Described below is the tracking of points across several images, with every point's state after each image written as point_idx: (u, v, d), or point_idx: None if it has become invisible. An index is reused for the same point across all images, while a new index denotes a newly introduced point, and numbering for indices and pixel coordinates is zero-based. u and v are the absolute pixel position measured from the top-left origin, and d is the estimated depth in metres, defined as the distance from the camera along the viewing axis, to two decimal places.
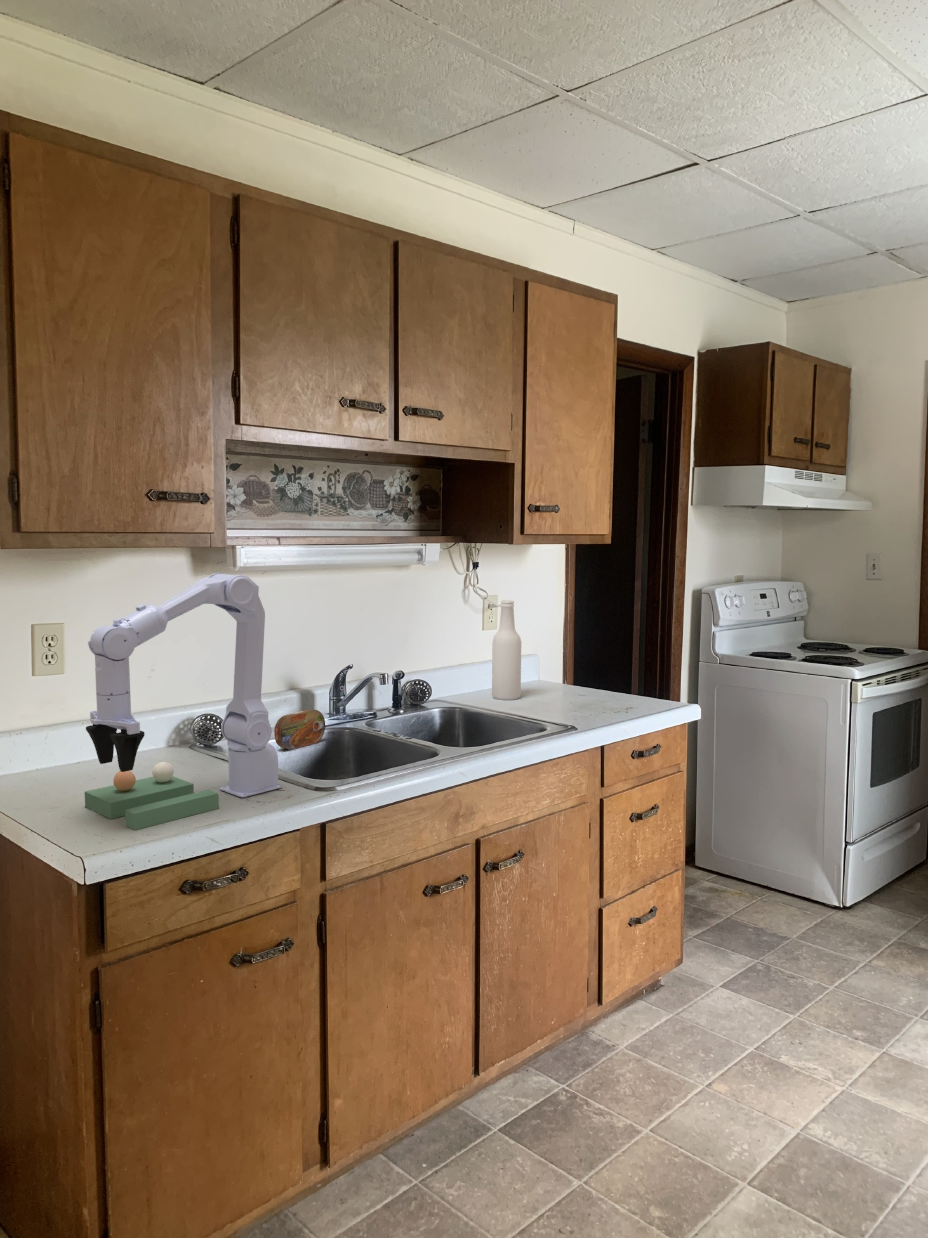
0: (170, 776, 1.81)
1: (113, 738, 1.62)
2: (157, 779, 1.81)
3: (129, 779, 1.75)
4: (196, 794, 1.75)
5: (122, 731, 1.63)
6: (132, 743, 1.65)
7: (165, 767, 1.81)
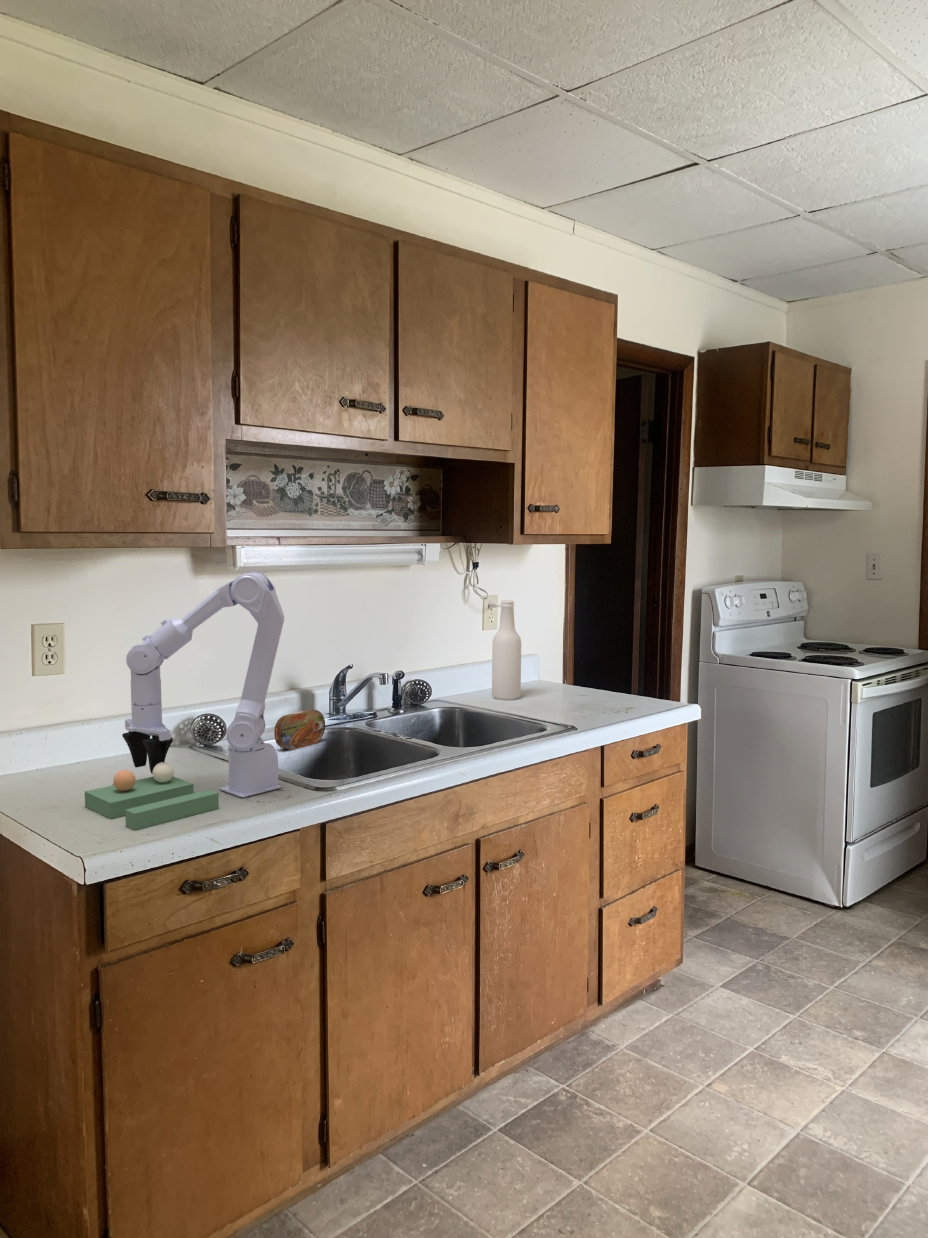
0: (170, 777, 1.81)
1: (145, 743, 1.81)
2: (157, 779, 1.81)
3: (129, 779, 1.75)
4: (196, 794, 1.75)
5: (153, 737, 1.82)
6: (162, 748, 1.84)
7: (165, 768, 1.81)
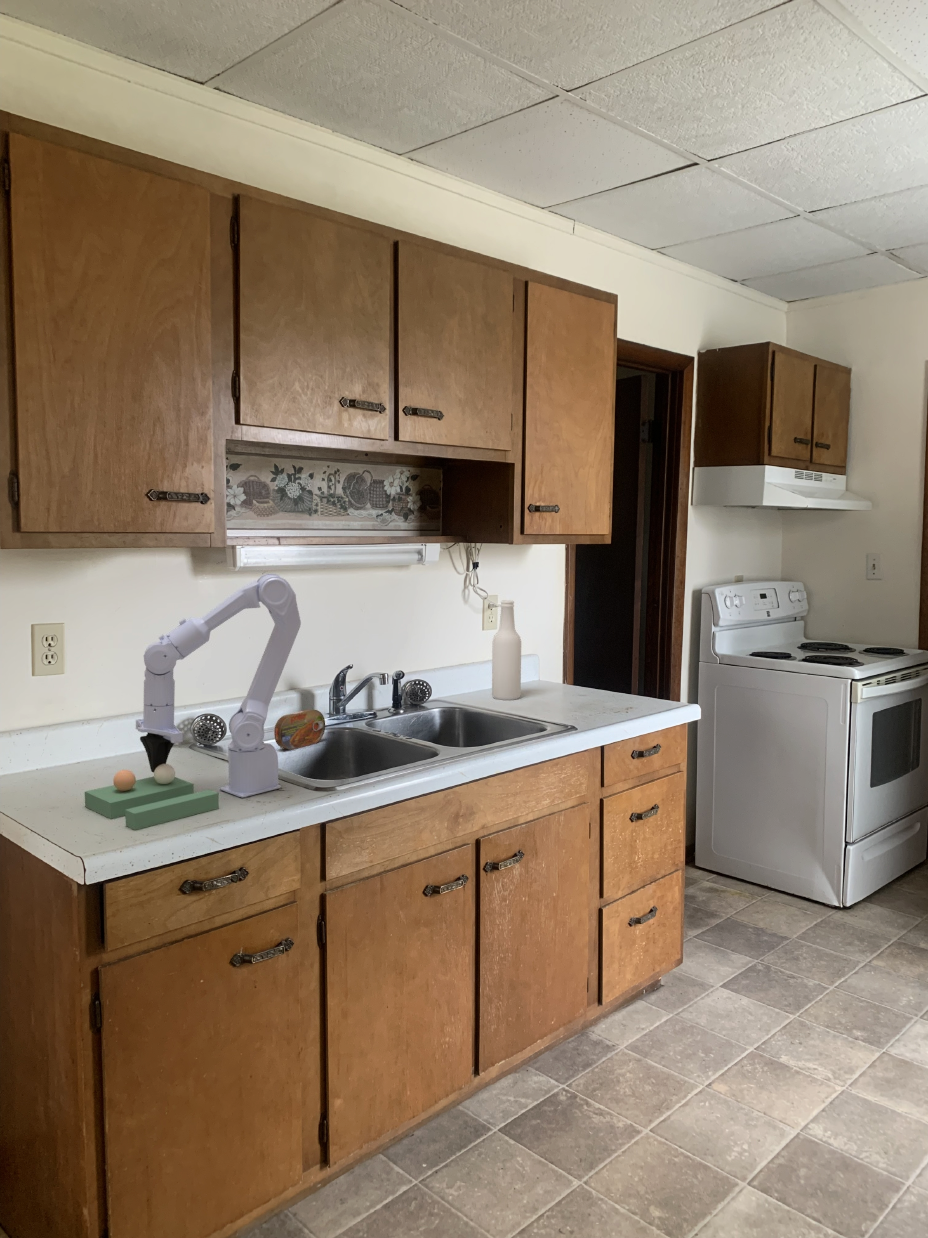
0: (171, 781, 1.81)
1: (148, 742, 1.79)
2: (158, 782, 1.80)
3: (129, 779, 1.75)
4: (196, 794, 1.75)
5: (156, 736, 1.80)
6: (165, 747, 1.82)
7: (168, 776, 1.80)
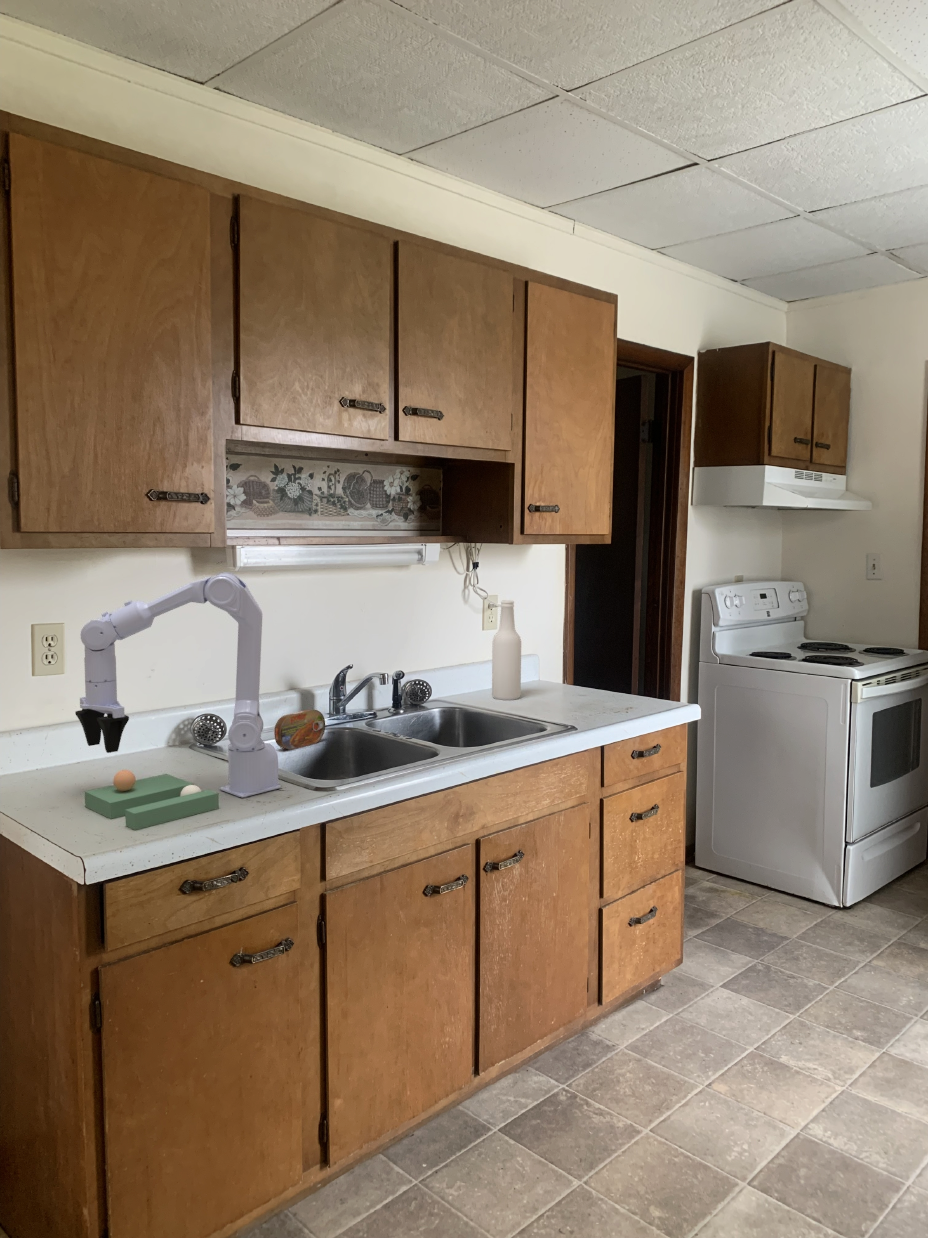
0: (196, 789, 1.76)
1: (100, 721, 1.76)
2: None
3: (129, 779, 1.75)
4: (196, 794, 1.75)
5: (108, 715, 1.78)
6: (118, 727, 1.80)
7: (185, 787, 1.77)
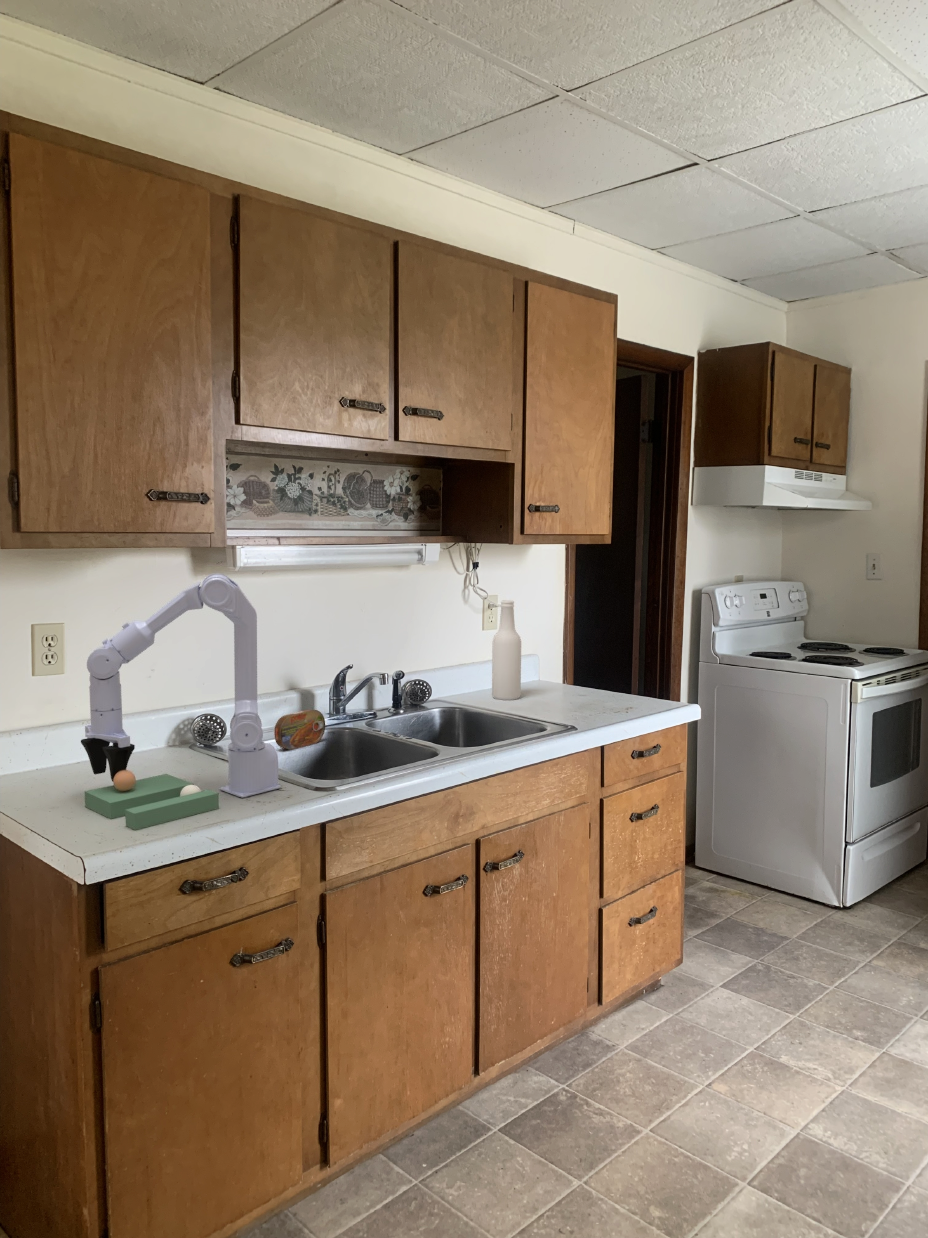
0: (195, 788, 1.77)
1: (105, 751, 1.75)
2: None
3: (129, 779, 1.75)
4: (196, 794, 1.75)
5: (114, 744, 1.76)
6: (123, 756, 1.78)
7: (185, 787, 1.77)
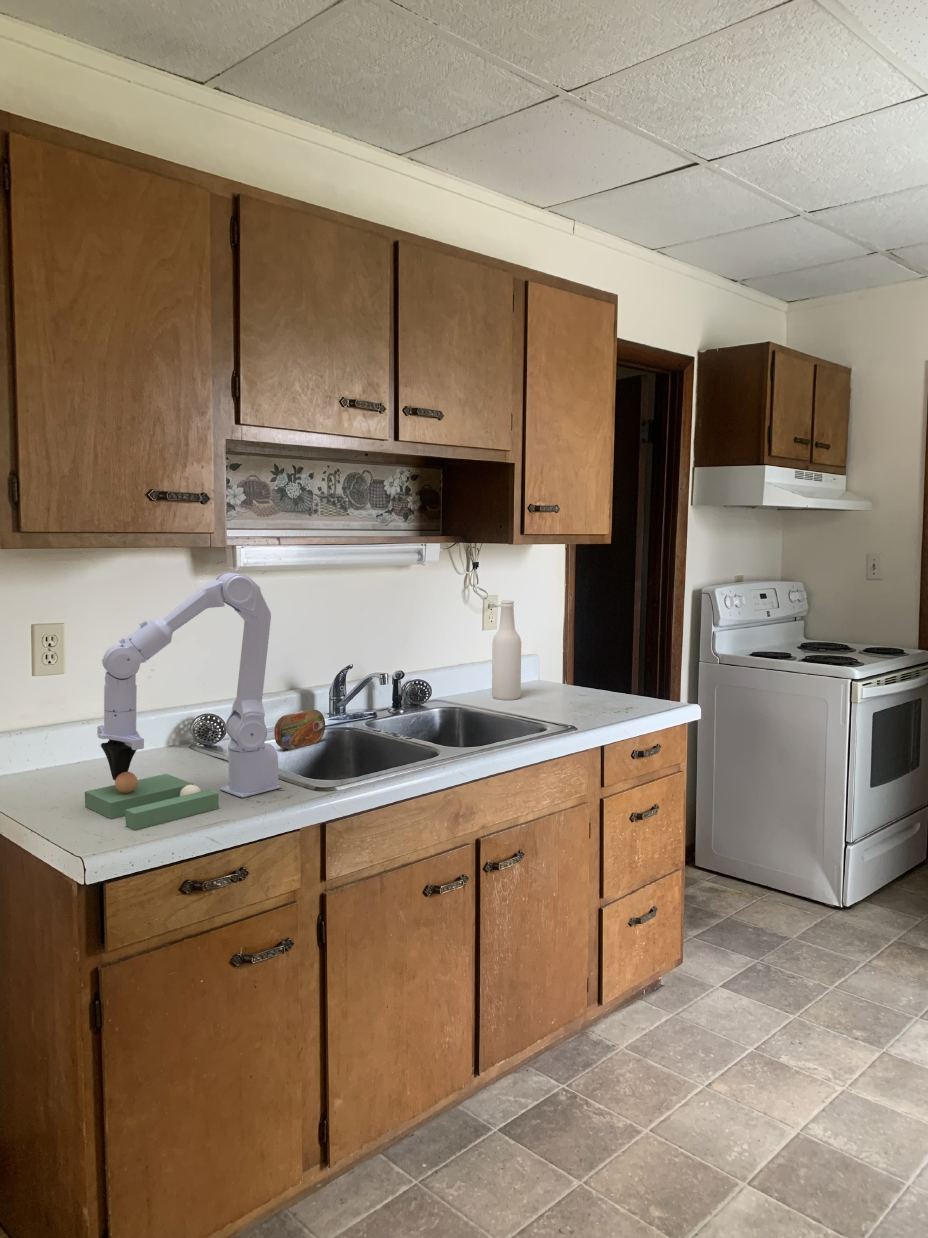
0: (195, 788, 1.77)
1: (109, 749, 1.73)
2: None
3: (131, 788, 1.74)
4: (196, 794, 1.75)
5: (117, 743, 1.74)
6: (127, 754, 1.76)
7: (184, 787, 1.77)
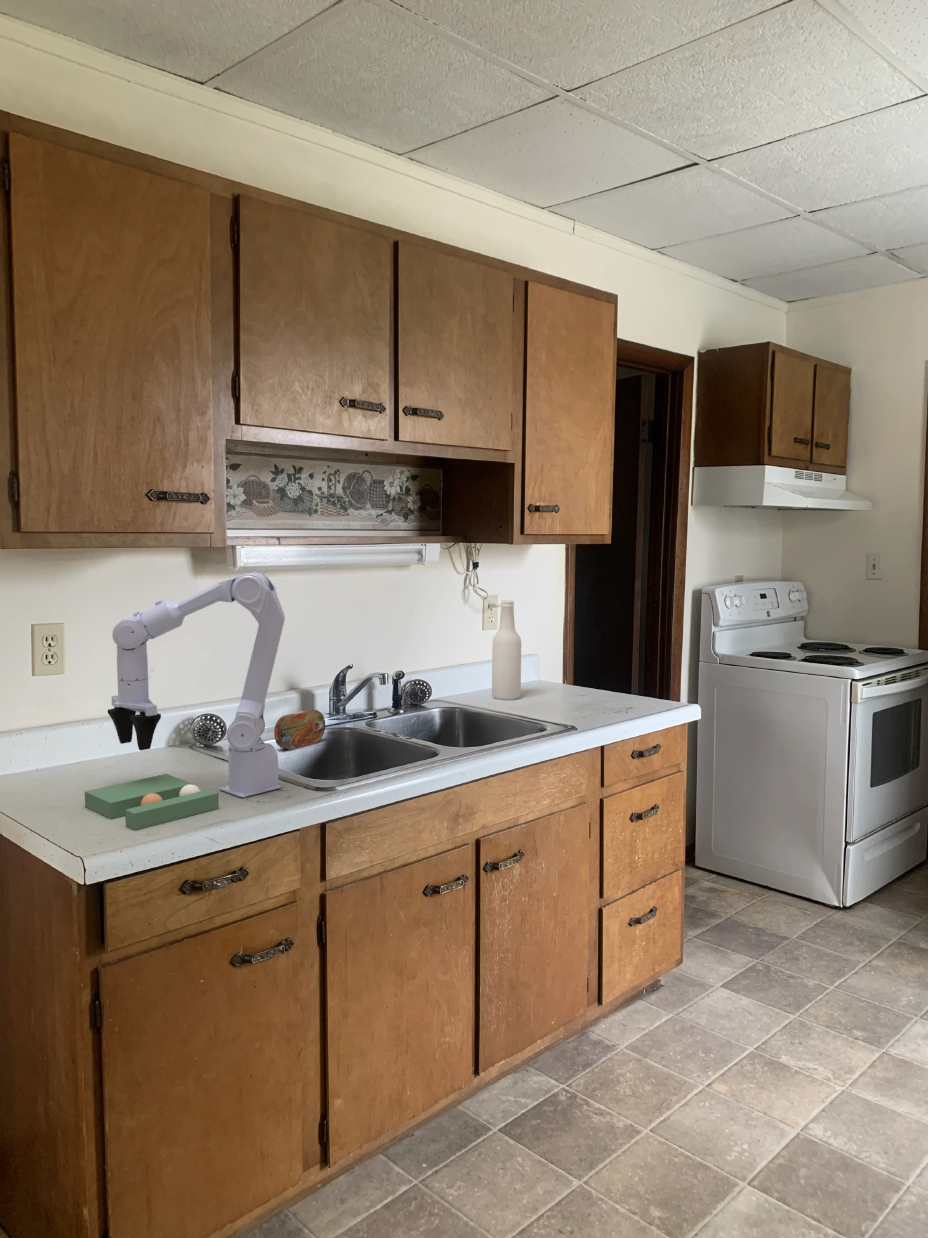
0: (193, 787, 1.77)
1: (133, 719, 1.79)
2: None
3: (148, 795, 1.71)
4: (196, 794, 1.75)
5: (141, 713, 1.80)
6: (150, 725, 1.82)
7: (183, 787, 1.77)
